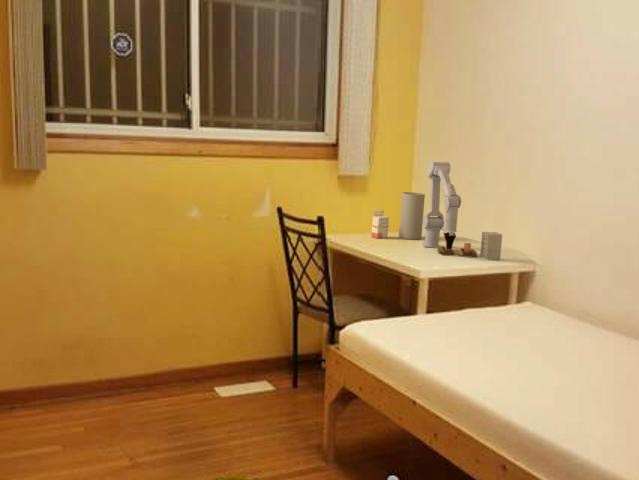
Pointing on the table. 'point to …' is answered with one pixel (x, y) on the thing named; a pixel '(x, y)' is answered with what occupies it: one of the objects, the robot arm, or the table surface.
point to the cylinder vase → (411, 215)
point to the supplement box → (491, 245)
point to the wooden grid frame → (456, 252)
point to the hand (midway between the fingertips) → (448, 248)
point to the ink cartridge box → (379, 225)
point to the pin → (467, 247)
